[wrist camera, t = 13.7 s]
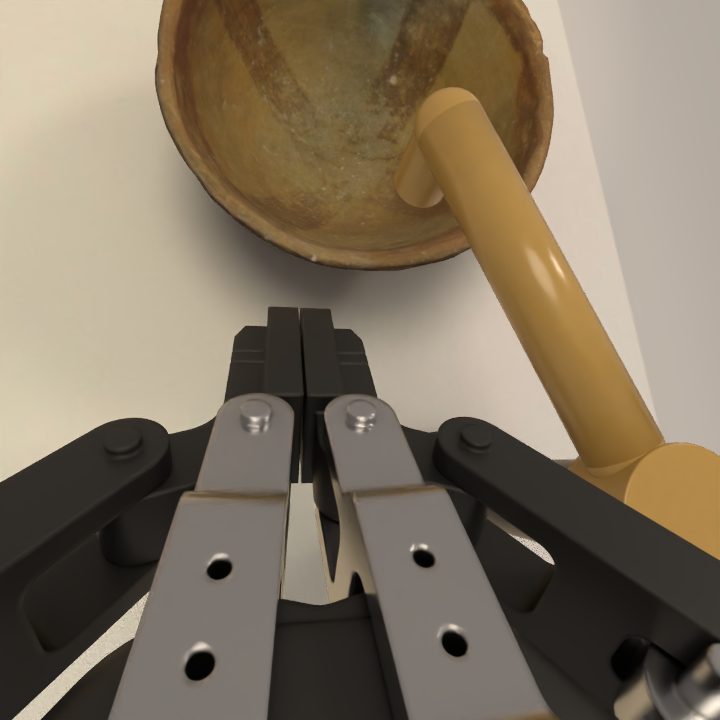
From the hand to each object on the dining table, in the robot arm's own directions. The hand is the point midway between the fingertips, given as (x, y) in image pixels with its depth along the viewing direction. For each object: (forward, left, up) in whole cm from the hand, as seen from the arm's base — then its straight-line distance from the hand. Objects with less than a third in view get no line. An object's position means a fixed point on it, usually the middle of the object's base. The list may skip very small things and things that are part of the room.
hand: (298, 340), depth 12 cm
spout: (-8, 0, -4) cm, 9 cm away
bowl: (-7, -17, -19) cm, 27 cm away
